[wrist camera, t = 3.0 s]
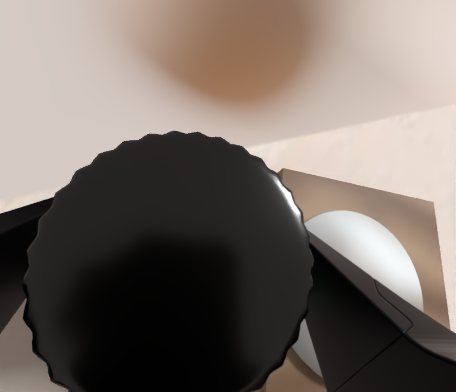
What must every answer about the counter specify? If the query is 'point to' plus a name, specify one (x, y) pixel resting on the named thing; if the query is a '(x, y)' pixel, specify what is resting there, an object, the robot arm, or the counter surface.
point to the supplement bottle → (169, 270)
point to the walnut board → (365, 255)
